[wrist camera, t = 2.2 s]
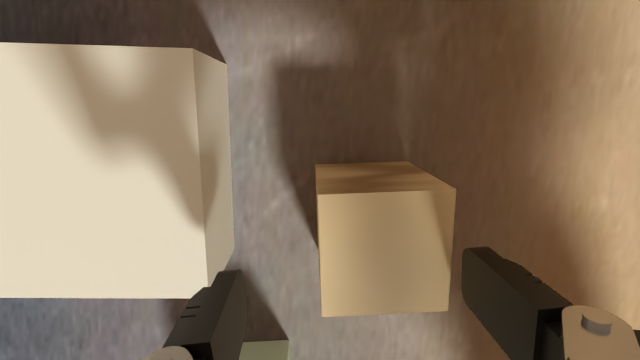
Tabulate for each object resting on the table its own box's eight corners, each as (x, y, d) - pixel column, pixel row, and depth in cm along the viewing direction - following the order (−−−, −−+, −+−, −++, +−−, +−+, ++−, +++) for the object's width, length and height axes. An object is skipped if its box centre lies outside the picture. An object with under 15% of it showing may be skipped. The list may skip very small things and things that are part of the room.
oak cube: (407, 160, 17) (456, 189, 11) (404, 245, 18) (448, 311, 13) (315, 164, 17) (317, 194, 11) (318, 249, 18) (322, 317, 12)
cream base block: (228, 65, 16) (192, 48, 11) (235, 246, 18) (208, 298, 14) (24, 59, 16) (-104, 38, 11) (58, 245, 18) (-35, 297, 13)
